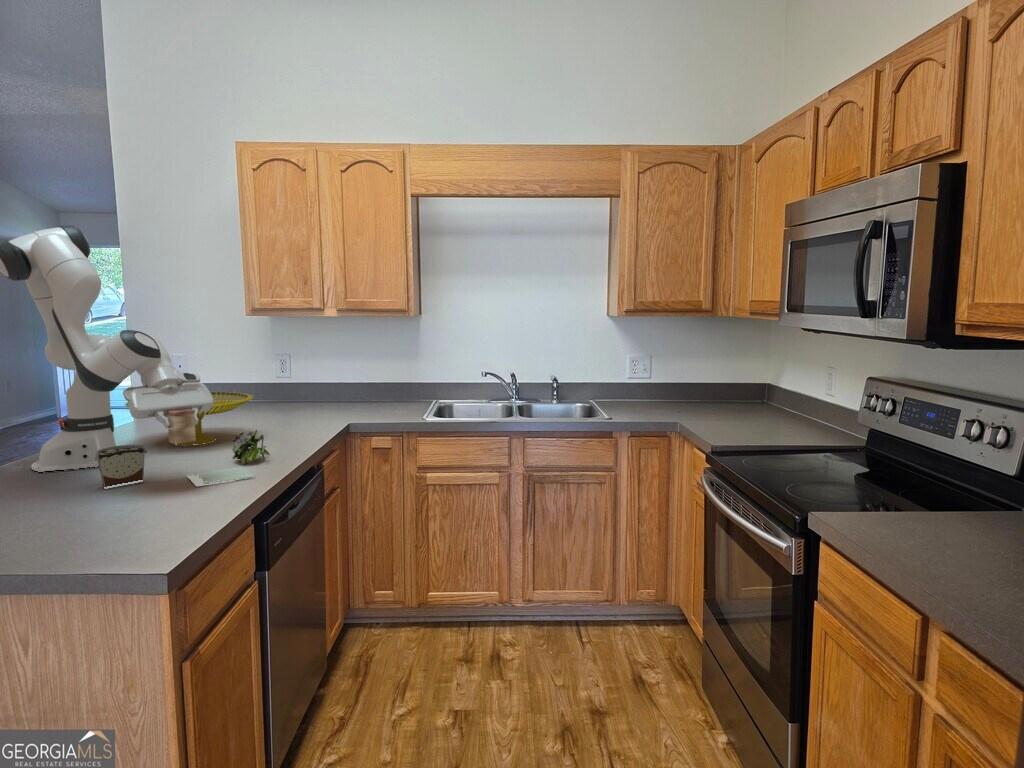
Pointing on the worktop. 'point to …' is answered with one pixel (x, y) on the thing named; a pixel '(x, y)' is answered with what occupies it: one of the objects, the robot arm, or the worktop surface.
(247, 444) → the passion flower
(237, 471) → the sage mat
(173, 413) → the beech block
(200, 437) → the cake stand
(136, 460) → the food container
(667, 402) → the worktop surface
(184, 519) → the worktop surface
